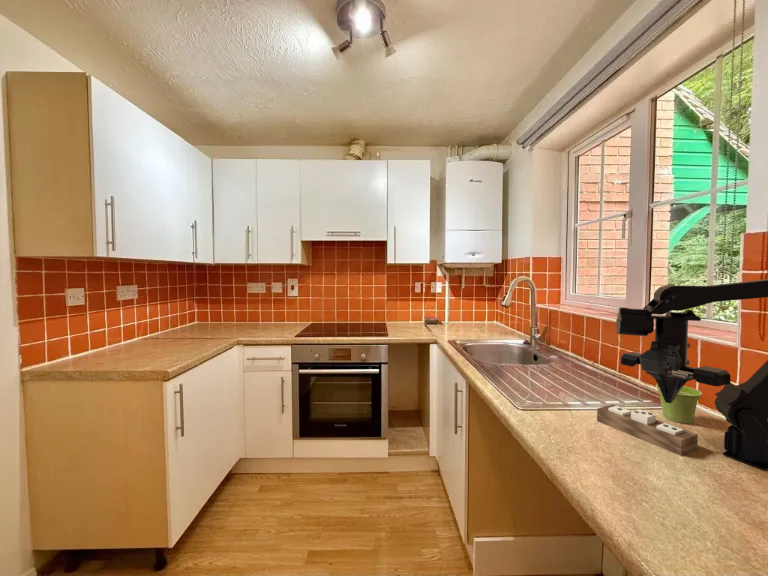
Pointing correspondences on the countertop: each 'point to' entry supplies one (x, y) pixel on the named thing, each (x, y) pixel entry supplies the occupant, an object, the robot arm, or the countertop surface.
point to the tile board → (649, 432)
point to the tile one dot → (619, 410)
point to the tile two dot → (670, 429)
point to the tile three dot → (643, 417)
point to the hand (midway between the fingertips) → (668, 402)
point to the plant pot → (681, 405)
